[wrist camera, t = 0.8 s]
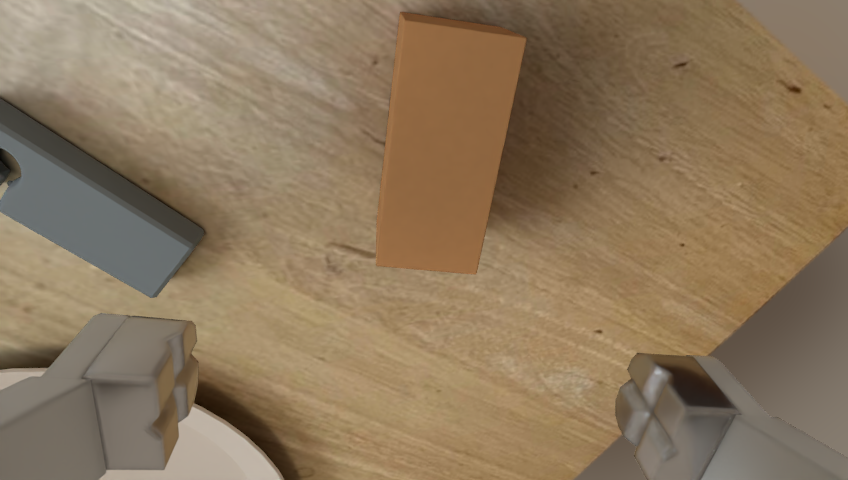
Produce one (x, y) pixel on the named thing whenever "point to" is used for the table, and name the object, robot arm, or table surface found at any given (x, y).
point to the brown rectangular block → (444, 141)
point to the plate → (192, 447)
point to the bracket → (91, 207)
